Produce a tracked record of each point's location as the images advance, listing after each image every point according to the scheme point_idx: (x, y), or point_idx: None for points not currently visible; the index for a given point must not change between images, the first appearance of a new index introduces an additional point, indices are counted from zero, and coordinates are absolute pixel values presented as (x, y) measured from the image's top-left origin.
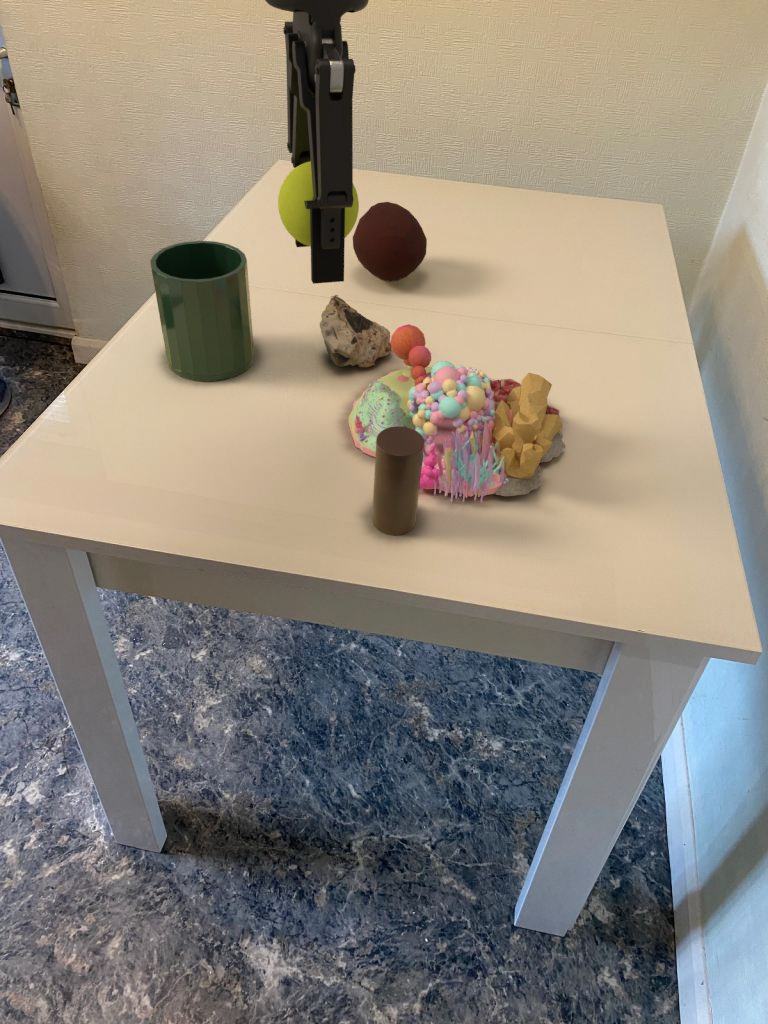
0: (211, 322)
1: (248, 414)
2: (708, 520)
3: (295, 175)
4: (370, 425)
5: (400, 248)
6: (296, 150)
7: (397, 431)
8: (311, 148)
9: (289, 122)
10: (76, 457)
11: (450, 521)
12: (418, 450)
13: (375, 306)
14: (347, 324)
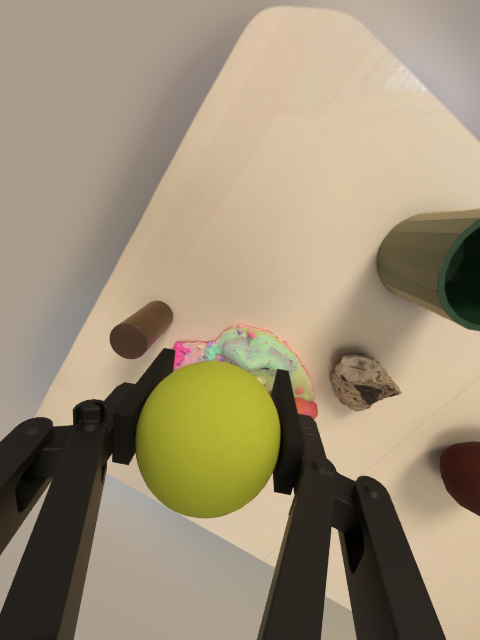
0: (410, 259)
1: (316, 262)
2: (109, 467)
3: (189, 437)
4: (241, 342)
5: (457, 482)
6: (298, 490)
7: (139, 344)
8: (59, 517)
9: (381, 547)
10: (323, 87)
11: None
12: (113, 348)
13: (420, 421)
14: (362, 383)
